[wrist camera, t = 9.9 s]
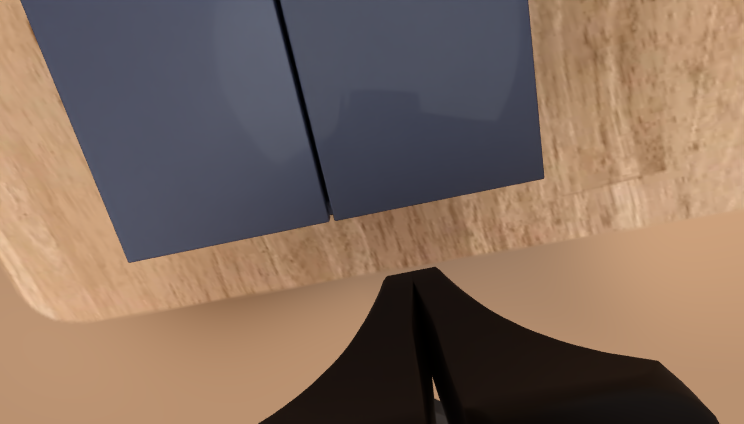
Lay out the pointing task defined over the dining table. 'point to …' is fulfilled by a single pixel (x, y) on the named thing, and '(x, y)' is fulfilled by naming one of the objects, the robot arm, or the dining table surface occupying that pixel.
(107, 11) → the flap
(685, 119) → the dining table surface
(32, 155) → the dining table surface
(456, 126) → the carton
